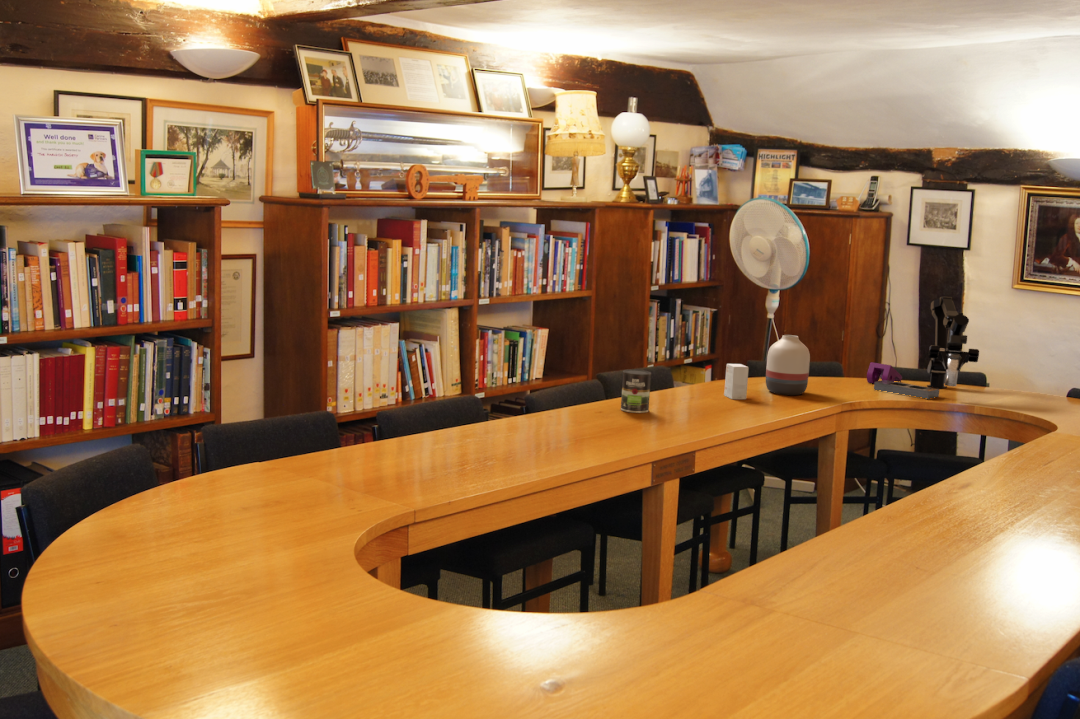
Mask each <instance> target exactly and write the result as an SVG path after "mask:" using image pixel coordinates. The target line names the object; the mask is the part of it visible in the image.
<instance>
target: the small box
mask: <svg viewBox="0 0 1080 719" xmlns="http://www.w3.org/2000/svg"><path fill="white" fill-rule="evenodd" d="M725 366H726V368H725V378H724V379H725V380H724V381H725V382H724V392H723V396H725V397H727V398H729V399H730V400H747V396H748V395H747V393H748V392H747V391H748V380H749V379H748V378H749V366H746V365H744V364H742V363H726V365H725Z"/></svg>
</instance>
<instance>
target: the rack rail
mask: <svg viewBox="0 0 1080 719" xmlns="http://www.w3.org/2000/svg"><path fill="white" fill-rule="evenodd" d="M874 389H875V390H874ZM873 390H874V391H876V390H881V391H880V392H882V391H887V392H886V393H888V392H893V393H899V394H905V395H911V396H916V397H922V398H927V399H929V400H931V399H930V398H933V399H935V398H934V397H938V398H940V389H939V388H934V387H928V386H922V385H917V384H911V383H905V382H894V381H888V380H883V381H882V380H878V381H877V382H874V384H873ZM893 393H892V394H893ZM899 394H898V395H899ZM905 395H904V396H905ZM916 397H915V398H916ZM927 399H926V400H927Z"/></svg>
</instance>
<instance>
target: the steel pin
mask: <svg viewBox="0 0 1080 719" xmlns="http://www.w3.org/2000/svg"><path fill="white" fill-rule="evenodd" d="M960 359H961V357H960V354H956V353H948V359H947V369H946V371H945V372H946V374H945V381H944V386H947V387H957V383H958V377H959V375H958V374H959V371H958V367H959V363H960Z"/></svg>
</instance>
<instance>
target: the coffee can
mask: <svg viewBox="0 0 1080 719" xmlns="http://www.w3.org/2000/svg"><path fill="white" fill-rule="evenodd" d="M651 379H652V372H651V371H647V370H643V369H624V370H622V381H621V382H622V383H621V386H622V387H621V398H620V399H621V400H620V411H622V412H625V413H632V414H645V413H648V412H650V410H649V408H650V392H651V383H652V382H651V381H652V380H651Z"/></svg>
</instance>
